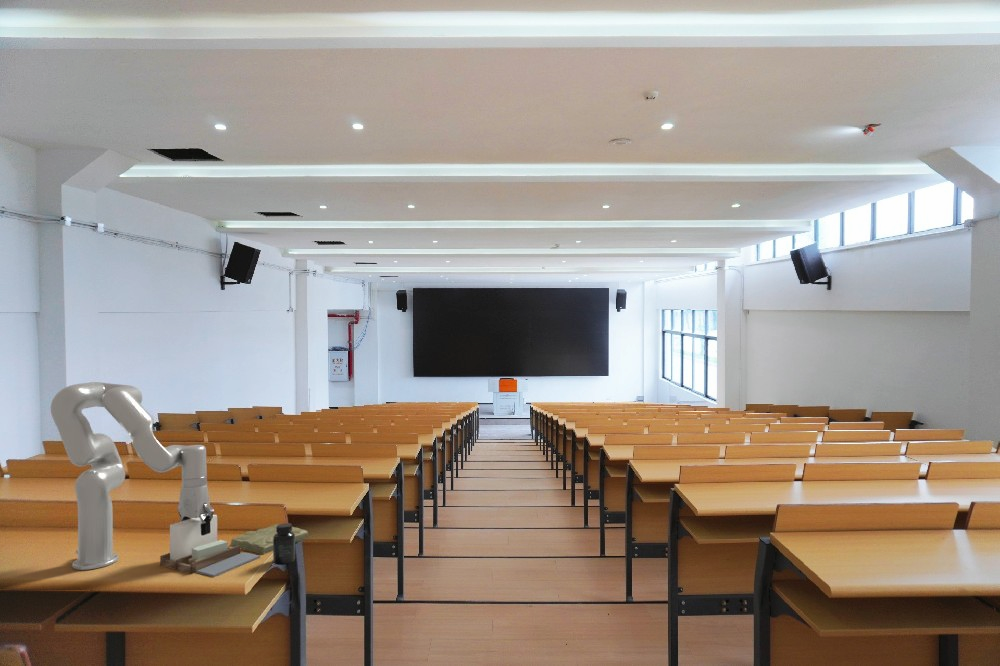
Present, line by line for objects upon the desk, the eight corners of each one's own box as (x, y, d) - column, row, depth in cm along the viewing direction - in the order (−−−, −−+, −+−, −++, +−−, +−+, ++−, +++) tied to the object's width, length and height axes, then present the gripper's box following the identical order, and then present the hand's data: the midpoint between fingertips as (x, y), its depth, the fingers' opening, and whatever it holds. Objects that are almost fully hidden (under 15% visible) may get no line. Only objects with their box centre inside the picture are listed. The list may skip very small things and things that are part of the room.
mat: (196, 572, 187) (196, 570, 187) (243, 553, 203) (243, 552, 203) (213, 577, 183) (213, 575, 183) (260, 557, 199) (260, 555, 199)
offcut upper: (191, 557, 193) (191, 548, 193) (221, 548, 201) (221, 539, 201) (198, 560, 191) (197, 550, 191) (227, 550, 199) (227, 542, 199)
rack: (160, 565, 193) (160, 556, 193) (208, 547, 209) (208, 539, 209) (192, 573, 186) (192, 564, 186) (240, 554, 202) (240, 545, 202)
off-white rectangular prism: (169, 564, 194) (169, 524, 194) (207, 550, 206) (207, 513, 206) (179, 566, 192) (179, 527, 192) (217, 552, 204) (217, 515, 204)
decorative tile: (308, 538, 220) (308, 528, 220) (264, 555, 202) (264, 545, 202) (273, 531, 228) (273, 521, 229) (228, 547, 211) (228, 537, 211)
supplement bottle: (275, 558, 198) (275, 522, 198) (296, 556, 200) (296, 521, 200) (271, 566, 192) (271, 529, 192) (293, 564, 193) (293, 527, 193)
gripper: (167, 482, 200) (169, 533, 200) (201, 486, 192) (203, 539, 192) (187, 477, 206) (189, 526, 206) (221, 481, 199) (223, 532, 199)
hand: (196, 532), depth 199 cm, fingers open, 9 cm apart
